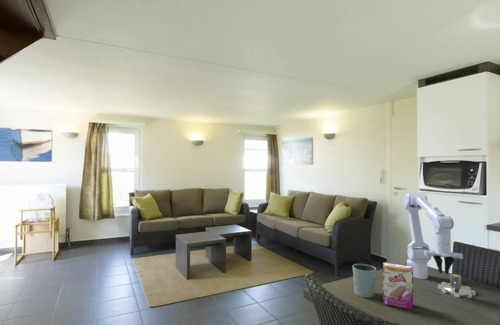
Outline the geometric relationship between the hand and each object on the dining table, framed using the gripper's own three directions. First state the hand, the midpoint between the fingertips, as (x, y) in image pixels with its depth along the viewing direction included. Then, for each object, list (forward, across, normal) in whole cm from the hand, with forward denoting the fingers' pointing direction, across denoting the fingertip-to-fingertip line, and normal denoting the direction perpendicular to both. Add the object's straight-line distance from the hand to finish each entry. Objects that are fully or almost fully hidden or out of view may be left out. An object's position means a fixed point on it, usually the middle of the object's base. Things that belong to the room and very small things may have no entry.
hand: (443, 272), depth 128 cm
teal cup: (+10, -34, -9) cm, 37 cm away
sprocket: (+9, +6, +4) cm, 12 cm away
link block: (+7, +7, +7) cm, 12 cm away
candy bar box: (+10, -22, -17) cm, 30 cm away
